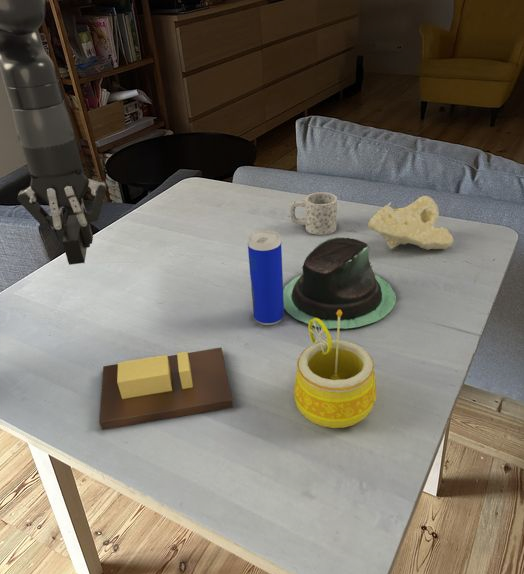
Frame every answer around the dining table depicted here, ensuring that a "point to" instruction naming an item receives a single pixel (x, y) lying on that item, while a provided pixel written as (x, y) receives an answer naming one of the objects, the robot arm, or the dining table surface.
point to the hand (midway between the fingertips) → (78, 246)
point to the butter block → (144, 376)
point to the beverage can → (266, 276)
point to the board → (169, 393)
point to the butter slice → (184, 370)
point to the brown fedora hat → (339, 287)
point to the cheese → (412, 225)
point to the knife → (74, 241)
